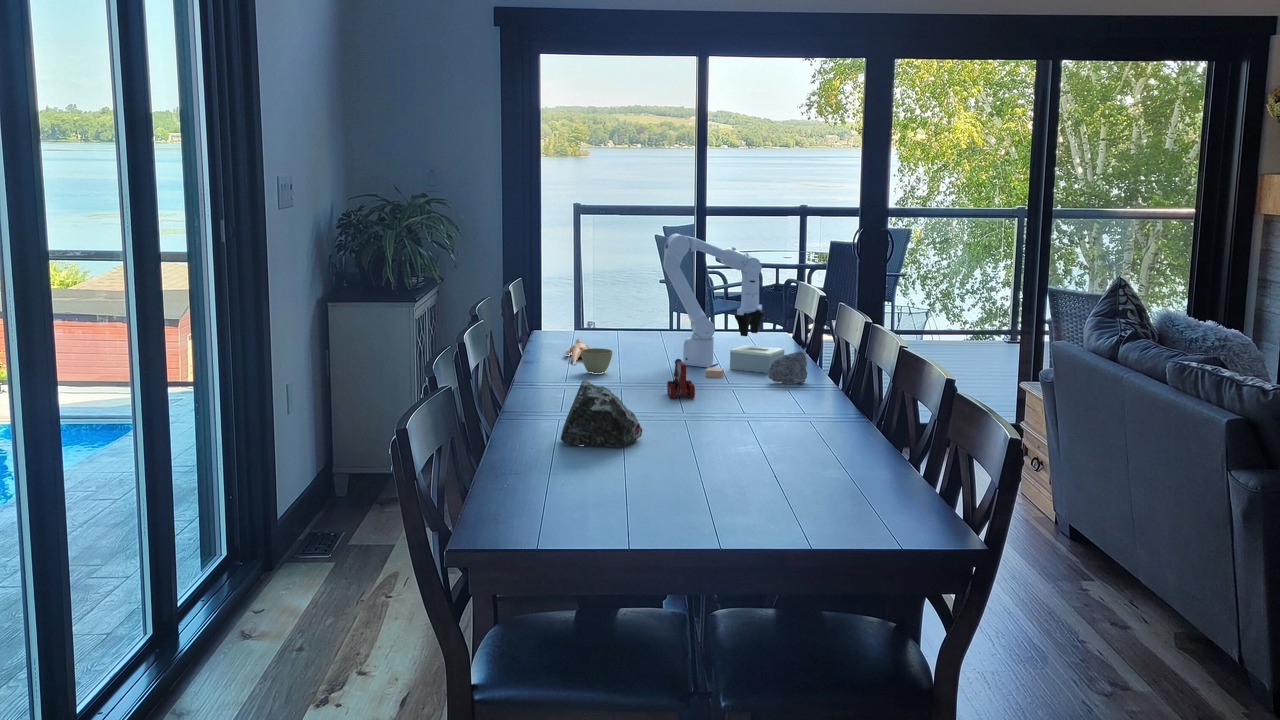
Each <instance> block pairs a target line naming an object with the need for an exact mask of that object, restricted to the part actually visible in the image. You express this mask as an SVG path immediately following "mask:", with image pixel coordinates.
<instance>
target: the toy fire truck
mask: <svg viewBox="0 0 1280 720" xmlns="http://www.w3.org/2000/svg"><path fill="white" fill-rule="evenodd" d="M674 364H675V365H674V373H673V377H674V379H672V380H668V381H667V383H666V388H667V389H666V390H667V392H666V393H667V395H668V396H669V399H672V400H673V399H674V400H675V399H676V397H677V394H679V396H685V395H687V396H688V399H694V398H695V395H696V387H695V384H694V383H693V382H692V380H691V379H690V380H689V379H687V365H685V364H684V363H683V361H682V359H680V358H676V359H675V360H674Z"/></svg>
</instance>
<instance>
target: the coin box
mask: <svg viewBox="0 0 1280 720" xmlns="http://www.w3.org/2000/svg"><path fill="white" fill-rule="evenodd" d="M729 350H730V351H729V355H730V356H729V357H730V358H729V370H733V369H734V371H735V370H736V371H742V370H744V372H750V371H755V372H754V373H759V372H764V373H763V374H768V370H769V368H770V367H771V364H772V362H773V361H774V360H776V359H778V358H780V357H782V356H784V355H785V348H779V347H770V346H769V347H768V346H758V345H750V344H744V345H741V346H738V347H735V348H734V347H733V348H732V349H731V348H730V349H729Z"/></svg>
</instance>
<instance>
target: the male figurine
mask: <svg viewBox="0 0 1280 720" xmlns="http://www.w3.org/2000/svg"><path fill="white" fill-rule="evenodd" d="M590 348H591V347H589V346H588V345H587V344H585V343H583V342H582V340H581V339H580V338H577V339H576V340H575V344H572V346H571V347H567V349H566V350H565V353H564V355H565V354H566V355H569V353H571V352H572V355H571V360H572V362H573V361H576V360H577V361H578V360H579V359H580V358H581V357H580V356H581V350H583V349H590ZM579 357H580V358H579ZM578 358H579V359H578Z"/></svg>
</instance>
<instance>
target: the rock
mask: <svg viewBox="0 0 1280 720" xmlns="http://www.w3.org/2000/svg"><path fill="white" fill-rule="evenodd" d="M807 362H808V361H807V357H806V355H805V354H804V353H803V351H802V350H799V351H795V352H791V353H788V354H784V356H782V357H780V358H778V359H776V360H774V361H773V362H772V364H771V367H770V368H769V370H768V373H767V374H768V378H769V380H771V381H772V382H774V383H780V382H781V383H783V384H785V383H793V384H796V383H797V384H802V383H805V382H806V379H807V377H808V371H807V366H808V363H807Z"/></svg>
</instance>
